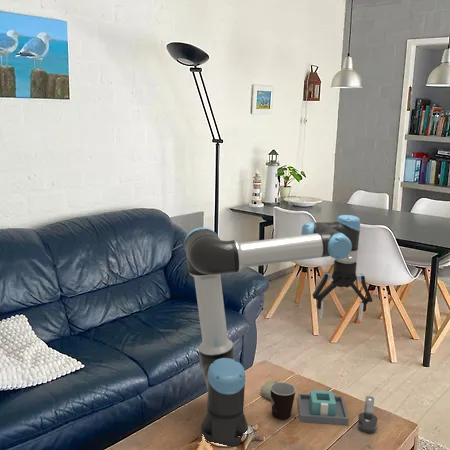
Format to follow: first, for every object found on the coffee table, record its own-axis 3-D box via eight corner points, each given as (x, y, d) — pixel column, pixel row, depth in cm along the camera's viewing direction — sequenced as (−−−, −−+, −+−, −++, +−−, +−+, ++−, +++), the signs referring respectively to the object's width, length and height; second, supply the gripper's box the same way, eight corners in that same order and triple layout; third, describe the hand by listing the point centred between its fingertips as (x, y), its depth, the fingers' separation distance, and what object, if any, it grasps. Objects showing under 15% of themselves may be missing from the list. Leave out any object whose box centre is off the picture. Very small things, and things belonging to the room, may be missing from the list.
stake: (359, 433, 174) (362, 402, 171) (356, 422, 179) (359, 393, 177) (377, 434, 173) (381, 404, 171) (374, 423, 179) (377, 394, 177)
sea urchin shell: (286, 384, 199) (286, 378, 192) (284, 405, 195) (285, 400, 188) (262, 381, 200) (261, 375, 193) (260, 402, 196) (259, 397, 189)
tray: (300, 421, 179) (300, 415, 178) (297, 399, 192) (297, 393, 192) (348, 425, 178) (348, 418, 177) (342, 402, 191) (342, 396, 191)
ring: (309, 402, 189) (310, 390, 188) (331, 404, 188) (333, 391, 187) (311, 417, 180) (312, 404, 179) (335, 419, 179) (336, 405, 178)
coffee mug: (292, 423, 177) (294, 396, 175) (267, 420, 179) (268, 393, 177) (295, 405, 188) (297, 379, 186) (271, 401, 190) (272, 376, 188)
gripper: (309, 261, 177) (305, 320, 182) (385, 265, 176) (378, 325, 181) (307, 255, 185) (303, 312, 190) (380, 259, 183) (374, 316, 188)
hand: (340, 318), depth 185 cm, fingers open, 13 cm apart
